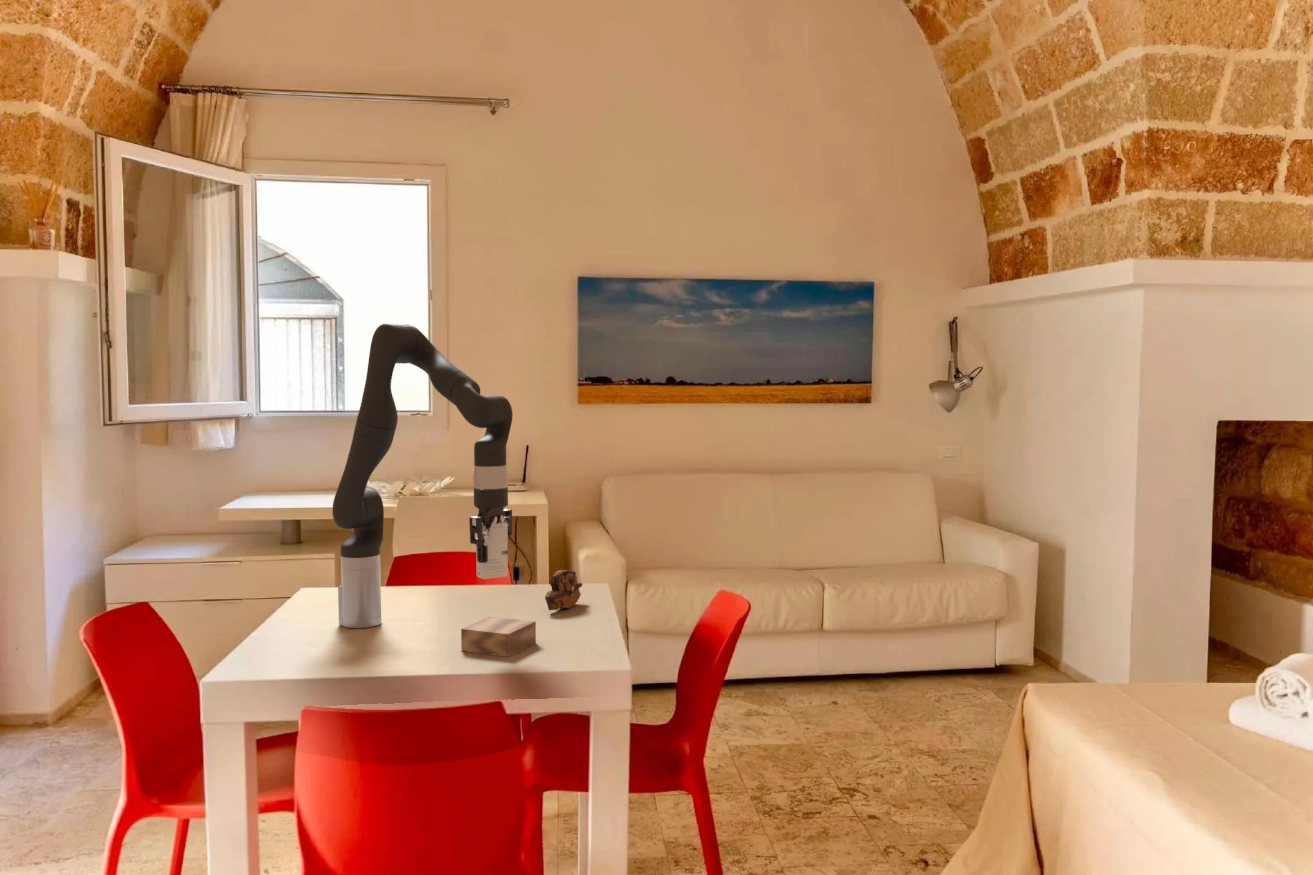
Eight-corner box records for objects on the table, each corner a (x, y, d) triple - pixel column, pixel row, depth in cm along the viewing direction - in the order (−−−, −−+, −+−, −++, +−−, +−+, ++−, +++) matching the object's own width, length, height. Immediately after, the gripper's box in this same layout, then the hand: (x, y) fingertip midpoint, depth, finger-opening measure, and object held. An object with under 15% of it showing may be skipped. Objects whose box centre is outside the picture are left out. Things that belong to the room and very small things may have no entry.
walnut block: (461, 651, 222) (461, 628, 222) (490, 637, 233) (490, 616, 233) (508, 656, 218) (508, 634, 217) (535, 643, 229) (535, 621, 228)
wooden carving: (560, 616, 254) (560, 577, 253) (543, 615, 255) (543, 576, 254) (585, 602, 269) (585, 565, 268) (569, 600, 271) (569, 564, 270)
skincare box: (483, 579, 220) (482, 525, 219) (475, 576, 224) (474, 522, 223) (509, 576, 223) (508, 522, 222) (501, 573, 227) (500, 520, 226)
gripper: (493, 481, 230) (495, 552, 231) (457, 488, 217) (459, 563, 218) (522, 482, 227) (523, 555, 228) (487, 489, 214) (488, 566, 215)
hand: (492, 559), depth 223 cm, fingers closed on skincare box, 7 cm apart
